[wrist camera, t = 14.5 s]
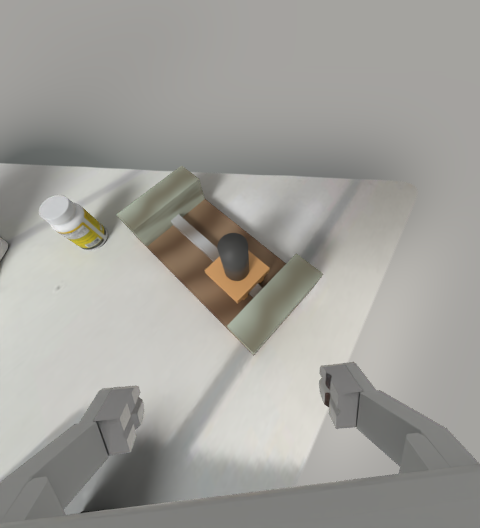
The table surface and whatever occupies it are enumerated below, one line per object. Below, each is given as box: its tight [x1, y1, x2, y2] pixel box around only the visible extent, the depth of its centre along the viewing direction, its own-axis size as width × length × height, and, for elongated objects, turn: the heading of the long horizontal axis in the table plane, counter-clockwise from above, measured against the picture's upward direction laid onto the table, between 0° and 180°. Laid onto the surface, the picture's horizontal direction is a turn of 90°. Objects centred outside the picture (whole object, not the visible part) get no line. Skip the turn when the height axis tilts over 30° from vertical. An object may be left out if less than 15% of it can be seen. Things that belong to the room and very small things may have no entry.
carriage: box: [204, 233, 270, 304], centre depth 28 cm, size 6×6×9 cm
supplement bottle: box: [39, 195, 107, 250], centre depth 34 cm, size 5×5×8 cm
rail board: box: [116, 166, 323, 355], centre depth 33 cm, size 26×12×6 cm, turn 46°
